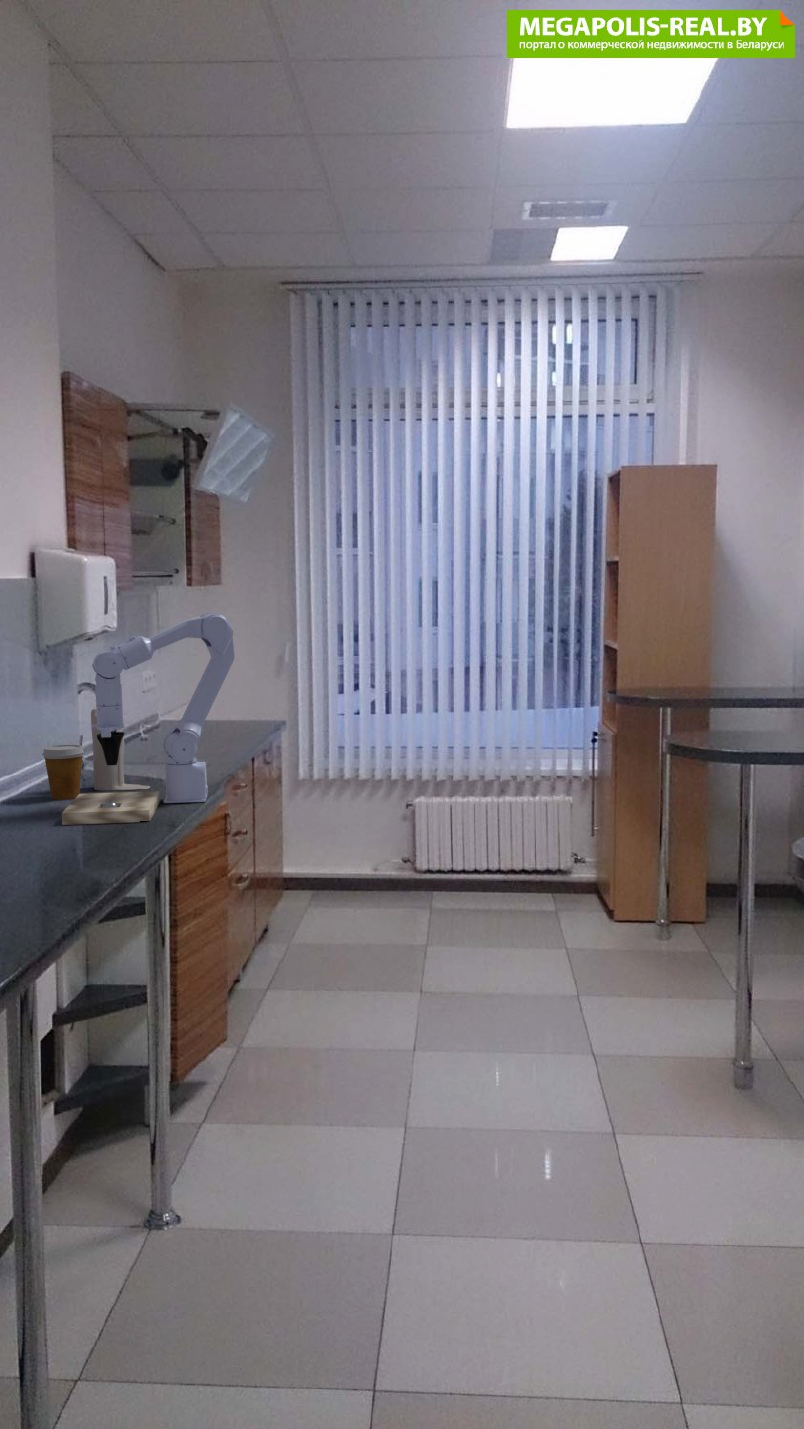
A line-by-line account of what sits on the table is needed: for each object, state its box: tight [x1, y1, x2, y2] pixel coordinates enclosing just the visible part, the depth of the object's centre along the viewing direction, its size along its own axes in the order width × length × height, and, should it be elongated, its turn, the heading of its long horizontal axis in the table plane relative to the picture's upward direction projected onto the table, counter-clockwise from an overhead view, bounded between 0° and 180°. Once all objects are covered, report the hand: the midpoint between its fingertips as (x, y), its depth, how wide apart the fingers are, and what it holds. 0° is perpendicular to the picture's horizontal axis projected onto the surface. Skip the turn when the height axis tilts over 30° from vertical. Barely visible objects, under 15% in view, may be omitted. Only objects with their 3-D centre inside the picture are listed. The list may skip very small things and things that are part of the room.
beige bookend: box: [90, 708, 151, 792], centre depth 279 cm, size 7×14×20 cm, turn 88°
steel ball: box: [102, 801, 119, 808], centre depth 245 cm, size 4×4×4 cm
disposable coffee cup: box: [41, 744, 85, 801], centre depth 269 cm, size 10×10×12 cm
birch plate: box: [61, 790, 161, 826], centre depth 250 cm, size 18×22×2 cm
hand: (112, 764), depth 257 cm, fingers closed
